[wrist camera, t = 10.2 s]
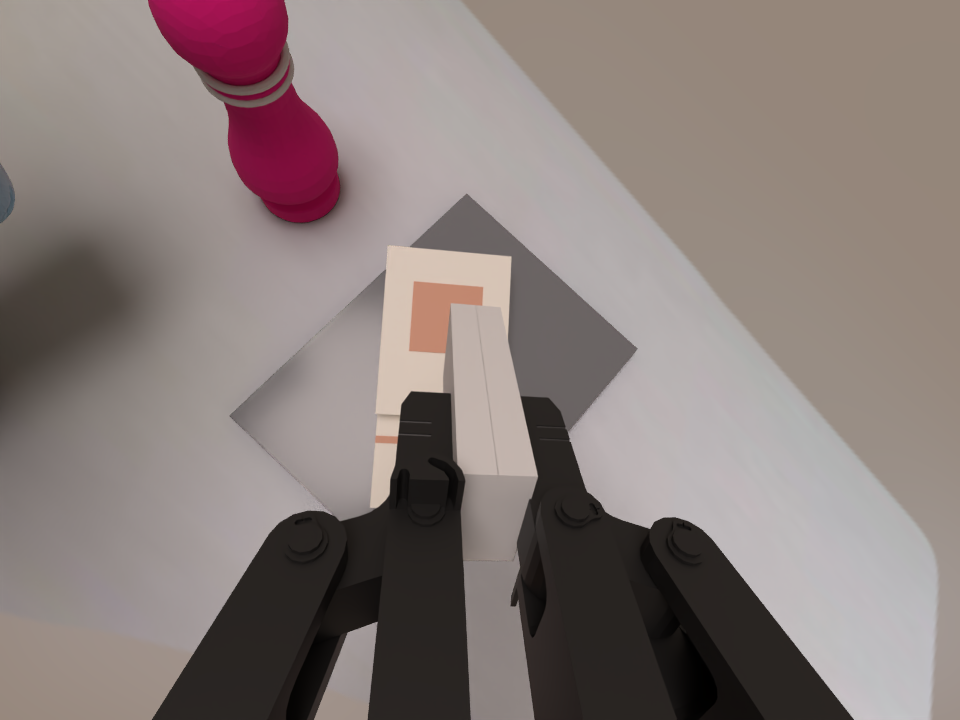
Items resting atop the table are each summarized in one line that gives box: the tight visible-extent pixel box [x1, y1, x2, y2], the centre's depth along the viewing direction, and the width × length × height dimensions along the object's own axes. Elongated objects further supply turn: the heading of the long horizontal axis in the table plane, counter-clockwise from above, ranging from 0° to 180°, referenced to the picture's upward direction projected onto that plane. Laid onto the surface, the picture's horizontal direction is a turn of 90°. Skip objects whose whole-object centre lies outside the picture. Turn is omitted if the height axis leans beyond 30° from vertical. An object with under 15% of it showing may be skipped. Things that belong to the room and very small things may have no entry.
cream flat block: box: [375, 245, 511, 415], centre depth 34 cm, size 2×9×12 cm
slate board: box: [230, 194, 637, 521], centre depth 36 cm, size 19×25×1 cm
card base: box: [370, 414, 400, 508], centre depth 34 cm, size 7×9×1 cm
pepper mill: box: [148, 0, 340, 223], centre depth 28 cm, size 7×7×20 cm
